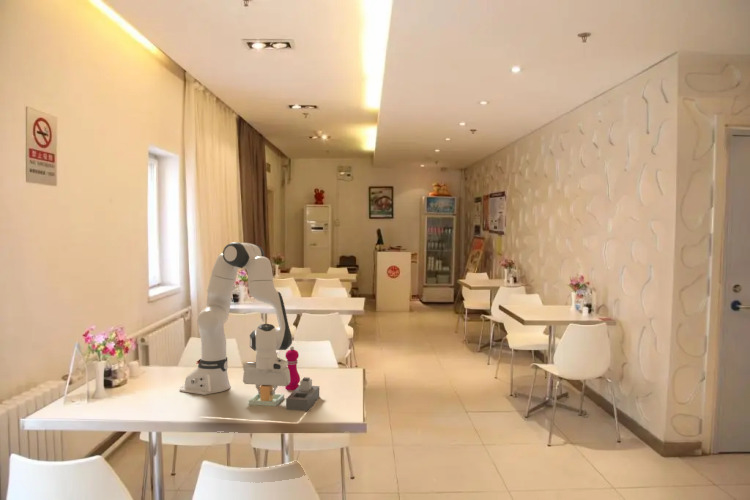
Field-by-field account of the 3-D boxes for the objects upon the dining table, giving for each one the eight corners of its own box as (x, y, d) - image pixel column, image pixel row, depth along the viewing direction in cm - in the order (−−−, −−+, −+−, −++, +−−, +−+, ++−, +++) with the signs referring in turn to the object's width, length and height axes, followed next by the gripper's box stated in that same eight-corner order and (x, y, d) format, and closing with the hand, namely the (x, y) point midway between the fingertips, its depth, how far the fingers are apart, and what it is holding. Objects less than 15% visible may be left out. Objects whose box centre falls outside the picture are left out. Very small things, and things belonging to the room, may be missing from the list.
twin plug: (300, 397, 214) (300, 379, 214) (303, 394, 218) (303, 376, 218) (309, 397, 213) (309, 379, 213) (311, 394, 217) (311, 377, 217)
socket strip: (286, 410, 204) (286, 398, 204) (299, 396, 221) (299, 385, 221) (307, 412, 202) (307, 400, 202) (319, 397, 220) (319, 386, 220)
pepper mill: (296, 392, 227) (296, 348, 226) (281, 391, 229) (281, 347, 228) (302, 387, 234) (302, 345, 233) (287, 386, 236) (287, 344, 235)
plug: (260, 402, 212) (260, 384, 211) (264, 399, 216) (263, 381, 215) (269, 403, 211) (269, 384, 211) (272, 399, 215) (272, 381, 215)
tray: (248, 405, 209) (248, 400, 209) (257, 397, 219) (257, 392, 219) (275, 407, 208) (275, 402, 207) (284, 399, 217) (284, 394, 217)
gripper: (240, 363, 211) (240, 395, 212) (286, 365, 208) (286, 398, 209) (246, 359, 218) (246, 391, 218) (291, 361, 214) (291, 393, 215)
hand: (266, 394), depth 213 cm, fingers closed on plug, 4 cm apart
